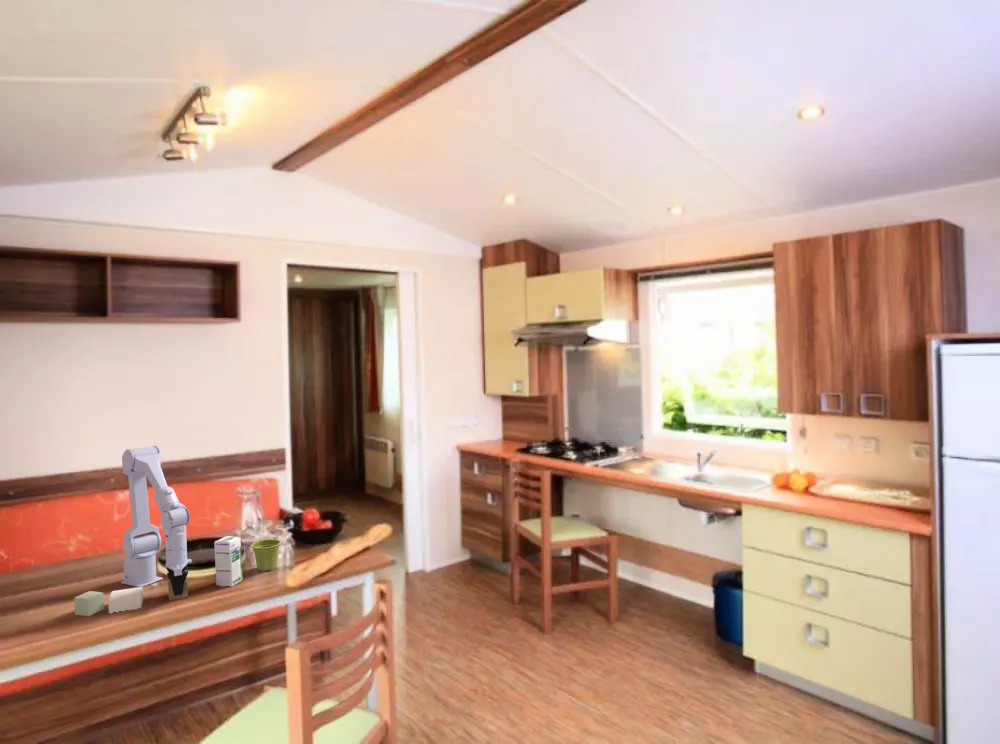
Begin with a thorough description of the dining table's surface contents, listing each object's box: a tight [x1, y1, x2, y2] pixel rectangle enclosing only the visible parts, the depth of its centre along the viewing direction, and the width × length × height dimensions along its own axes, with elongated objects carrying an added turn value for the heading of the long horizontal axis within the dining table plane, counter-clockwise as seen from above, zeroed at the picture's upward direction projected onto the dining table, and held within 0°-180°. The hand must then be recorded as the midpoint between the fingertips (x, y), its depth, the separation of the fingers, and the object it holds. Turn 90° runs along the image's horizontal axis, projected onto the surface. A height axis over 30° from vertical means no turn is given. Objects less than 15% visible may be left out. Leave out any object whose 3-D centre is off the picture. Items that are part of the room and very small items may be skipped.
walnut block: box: [167, 577, 189, 601], centre depth 196 cm, size 5×5×5 cm
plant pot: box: [250, 538, 282, 572], centre depth 219 cm, size 9×9×9 cm
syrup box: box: [214, 535, 244, 588], centre depth 206 cm, size 6×6×14 cm
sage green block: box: [73, 590, 105, 617], centre depth 185 cm, size 5×5×5 cm
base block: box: [107, 586, 144, 614], centre depth 189 cm, size 8×8×4 cm
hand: (177, 591), depth 196 cm, fingers closed on walnut block, 5 cm apart
